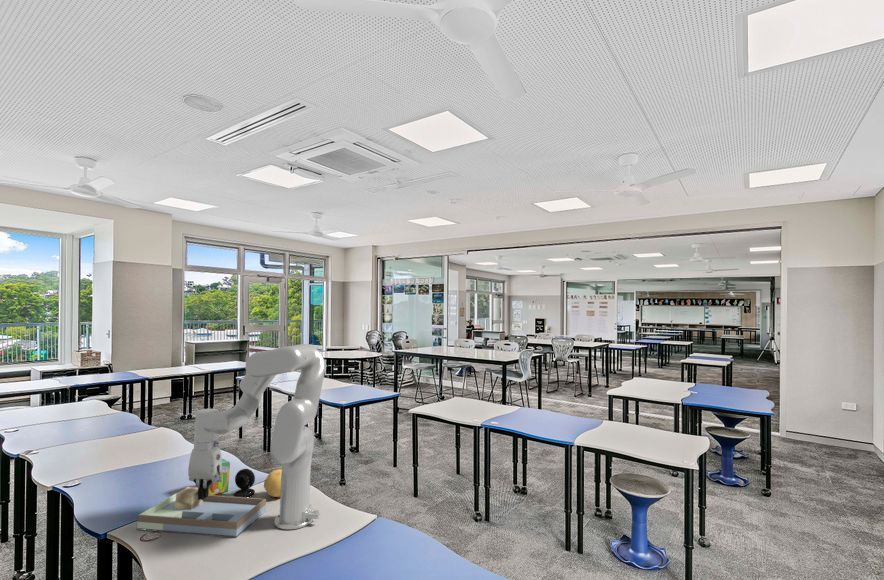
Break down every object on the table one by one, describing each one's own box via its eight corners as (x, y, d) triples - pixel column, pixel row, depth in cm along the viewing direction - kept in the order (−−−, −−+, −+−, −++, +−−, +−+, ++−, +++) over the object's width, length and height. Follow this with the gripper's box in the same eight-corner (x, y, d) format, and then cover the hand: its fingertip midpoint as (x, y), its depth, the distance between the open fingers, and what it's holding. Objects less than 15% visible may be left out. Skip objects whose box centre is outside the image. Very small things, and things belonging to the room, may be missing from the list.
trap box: (265, 511, 153) (265, 498, 154) (236, 537, 135) (237, 522, 136) (176, 505, 157) (177, 492, 157) (136, 529, 139) (137, 515, 139)
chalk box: (205, 499, 163) (207, 459, 164) (194, 492, 168) (196, 453, 169) (229, 491, 170) (231, 453, 171) (218, 485, 176) (220, 448, 176)
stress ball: (275, 492, 172) (256, 480, 167) (293, 472, 175) (275, 459, 170) (280, 506, 163) (260, 494, 159) (299, 484, 166) (280, 472, 162)
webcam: (228, 498, 164) (230, 471, 164) (240, 490, 171) (241, 465, 172) (248, 500, 163) (249, 473, 163) (258, 492, 170) (260, 466, 171)
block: (202, 502, 154) (203, 487, 155) (191, 509, 148) (192, 494, 149) (187, 500, 155) (187, 486, 155) (175, 508, 149) (176, 493, 149)
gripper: (232, 443, 155) (229, 495, 154) (193, 440, 157) (190, 492, 156) (219, 449, 148) (216, 504, 147) (178, 447, 149) (175, 501, 148)
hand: (202, 498), depth 151 cm, fingers closed
